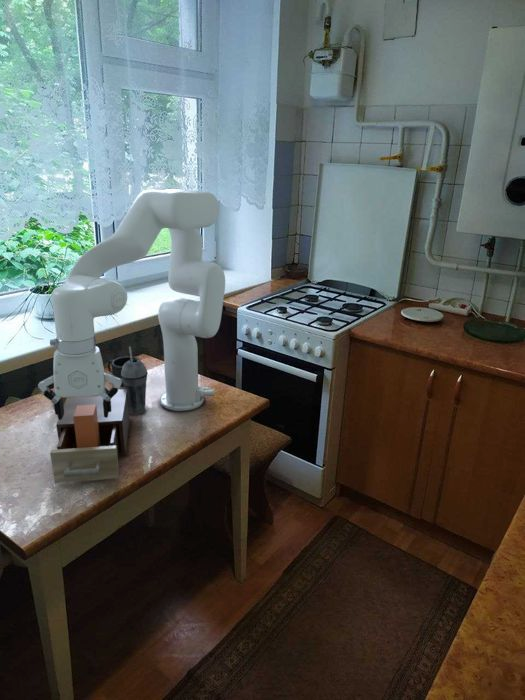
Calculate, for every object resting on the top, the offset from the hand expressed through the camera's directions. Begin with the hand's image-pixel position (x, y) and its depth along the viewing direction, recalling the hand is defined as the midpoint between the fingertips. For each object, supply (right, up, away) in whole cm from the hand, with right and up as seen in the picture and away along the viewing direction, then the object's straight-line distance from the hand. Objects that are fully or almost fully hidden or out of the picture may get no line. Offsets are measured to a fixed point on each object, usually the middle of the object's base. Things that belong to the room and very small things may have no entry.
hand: (84, 415), depth 110 cm
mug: (-5, +5, +48) cm, 49 cm away
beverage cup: (+4, -3, +31) cm, 31 cm away
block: (0, -11, +5) cm, 12 cm away
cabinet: (-2, -8, +16) cm, 19 cm away
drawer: (0, -12, +4) cm, 13 cm away
